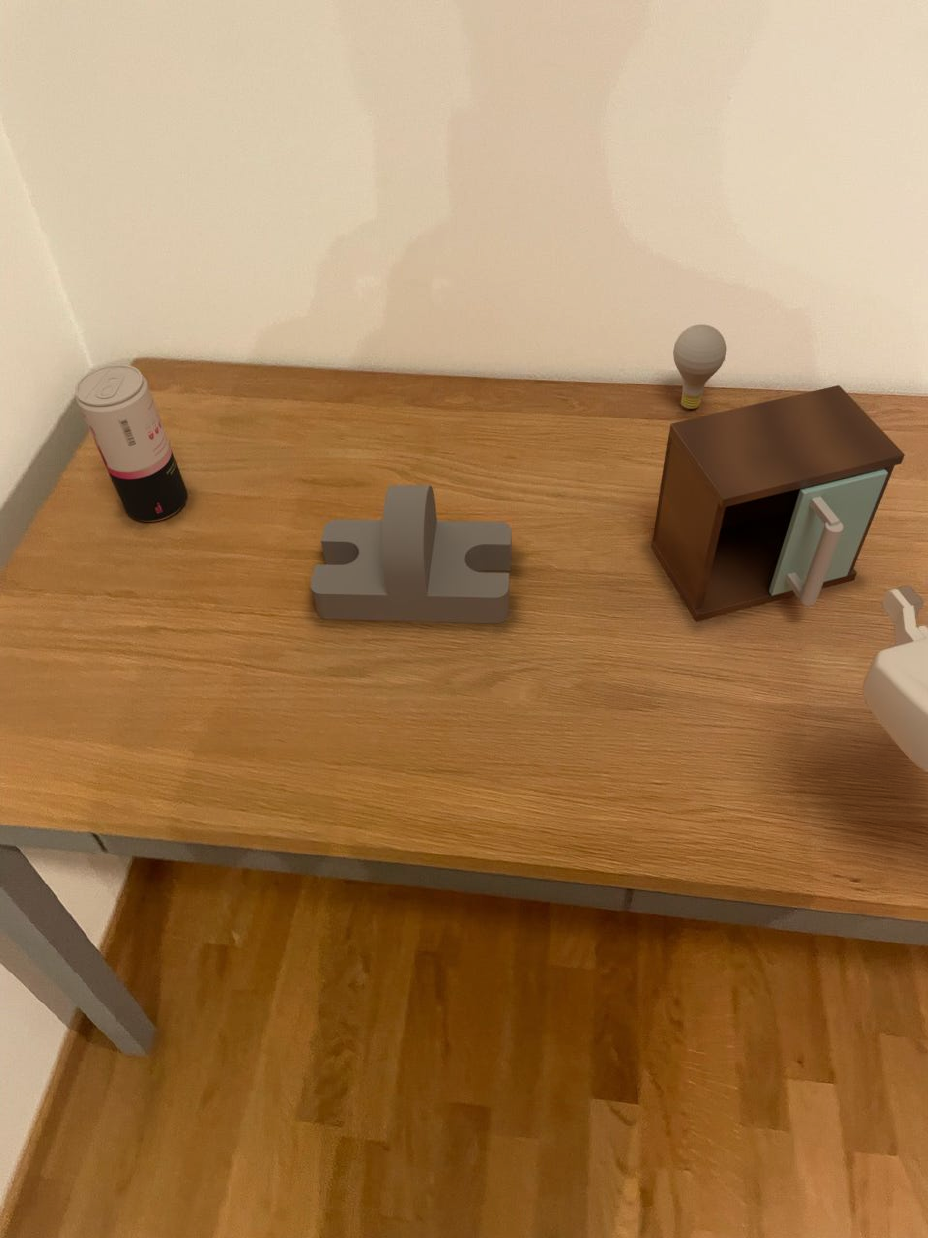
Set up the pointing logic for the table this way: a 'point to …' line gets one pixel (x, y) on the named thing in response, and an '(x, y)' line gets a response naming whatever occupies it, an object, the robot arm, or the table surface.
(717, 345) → the light bulb
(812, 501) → the door
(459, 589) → the bracket
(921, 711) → the robot arm
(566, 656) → the table surface
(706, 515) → the cabinet
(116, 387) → the beverage can
